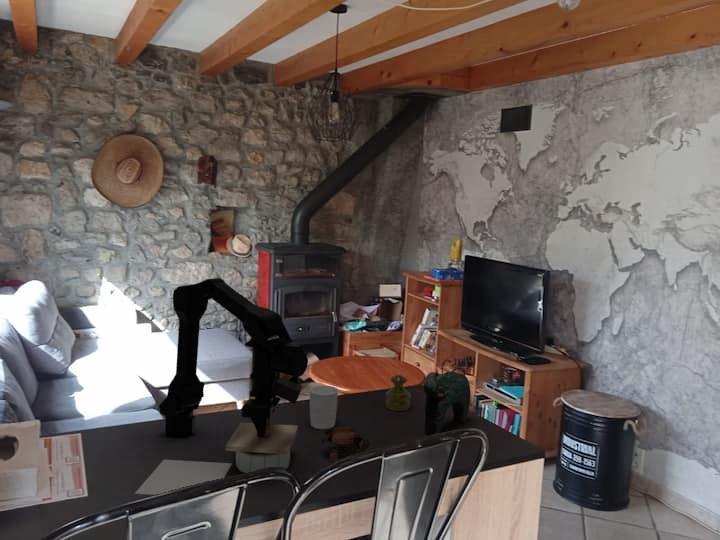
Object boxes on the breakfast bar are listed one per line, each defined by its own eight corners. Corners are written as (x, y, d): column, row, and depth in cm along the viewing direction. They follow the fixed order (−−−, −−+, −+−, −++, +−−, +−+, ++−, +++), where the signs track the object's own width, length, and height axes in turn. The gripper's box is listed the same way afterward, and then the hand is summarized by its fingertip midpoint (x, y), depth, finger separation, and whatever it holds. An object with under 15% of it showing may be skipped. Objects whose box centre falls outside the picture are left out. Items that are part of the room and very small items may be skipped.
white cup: (333, 431, 160) (334, 395, 158) (304, 428, 161) (305, 392, 160) (339, 421, 167) (341, 386, 166) (312, 418, 169) (313, 384, 168)
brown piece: (318, 465, 140) (315, 429, 144) (331, 467, 149) (329, 433, 152) (366, 459, 138) (363, 423, 141) (377, 461, 146) (374, 427, 149)
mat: (134, 496, 122) (134, 493, 122) (163, 462, 138) (163, 459, 138) (211, 500, 121) (211, 498, 121) (232, 465, 137) (232, 463, 137)
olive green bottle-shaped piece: (402, 413, 175) (404, 380, 174) (380, 408, 179) (382, 375, 178) (414, 406, 181) (415, 375, 180) (393, 401, 185) (394, 370, 184)
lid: (225, 454, 130) (225, 432, 130) (240, 430, 144) (241, 409, 144) (288, 458, 130) (289, 435, 129) (297, 433, 144) (298, 412, 143)
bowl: (230, 476, 132) (230, 454, 131) (243, 453, 144) (243, 433, 143) (284, 479, 132) (284, 457, 131) (292, 456, 143) (293, 436, 143)
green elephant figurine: (435, 440, 156) (439, 366, 154) (414, 433, 160) (418, 361, 158) (473, 421, 171) (477, 353, 169) (453, 415, 175) (457, 349, 173)
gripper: (293, 382, 125) (291, 452, 127) (305, 358, 144) (303, 420, 146) (241, 379, 126) (240, 449, 128) (260, 356, 144) (258, 418, 146)
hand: (263, 433), depth 137 cm, fingers closed on lid, 3 cm apart
